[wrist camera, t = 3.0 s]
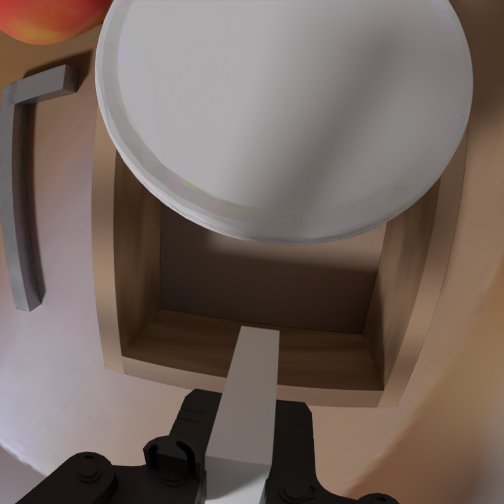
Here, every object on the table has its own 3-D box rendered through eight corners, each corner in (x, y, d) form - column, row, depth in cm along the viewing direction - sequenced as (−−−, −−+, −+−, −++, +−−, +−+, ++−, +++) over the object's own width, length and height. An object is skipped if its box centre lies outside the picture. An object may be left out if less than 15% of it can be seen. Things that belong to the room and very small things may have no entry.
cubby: (159, 51, 16) (115, 16, 10) (419, 79, 15) (466, 52, 9) (144, 320, 21) (105, 368, 15) (373, 350, 20) (396, 407, 14)
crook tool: (18, 89, 17) (3, 87, 16) (80, 69, 17) (65, 64, 15) (28, 300, 22) (16, 308, 20) (87, 312, 22) (75, 322, 20)
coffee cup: (270, 17, 15) (252, -125, 3) (394, 113, 16) (529, 62, 4) (172, 131, 17) (27, 100, 6) (295, 230, 18) (313, 337, 7)
